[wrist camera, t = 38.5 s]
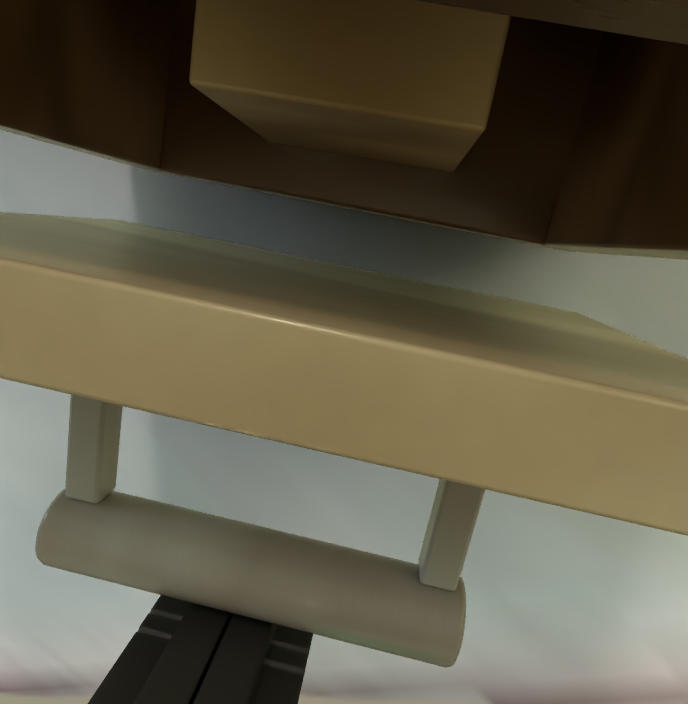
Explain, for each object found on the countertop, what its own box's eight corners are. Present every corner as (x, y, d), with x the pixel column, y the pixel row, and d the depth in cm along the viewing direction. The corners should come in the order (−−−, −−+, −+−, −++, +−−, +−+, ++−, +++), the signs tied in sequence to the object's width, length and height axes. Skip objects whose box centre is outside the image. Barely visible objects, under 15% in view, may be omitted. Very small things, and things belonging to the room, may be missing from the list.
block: (266, 141, 10) (186, 83, 7) (294, -78, 9) (219, -297, 6) (453, 173, 10) (485, 131, 6) (501, -50, 9) (574, -260, 5)
